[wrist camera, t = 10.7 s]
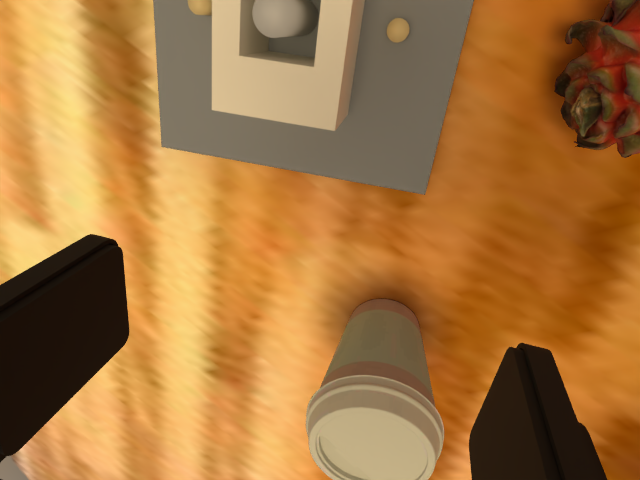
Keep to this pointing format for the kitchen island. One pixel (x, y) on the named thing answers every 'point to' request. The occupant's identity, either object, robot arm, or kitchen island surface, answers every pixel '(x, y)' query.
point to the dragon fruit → (605, 80)
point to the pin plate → (365, 102)
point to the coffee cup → (376, 401)
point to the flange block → (284, 66)
